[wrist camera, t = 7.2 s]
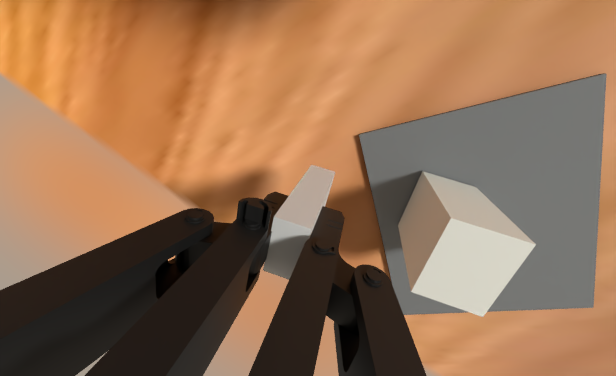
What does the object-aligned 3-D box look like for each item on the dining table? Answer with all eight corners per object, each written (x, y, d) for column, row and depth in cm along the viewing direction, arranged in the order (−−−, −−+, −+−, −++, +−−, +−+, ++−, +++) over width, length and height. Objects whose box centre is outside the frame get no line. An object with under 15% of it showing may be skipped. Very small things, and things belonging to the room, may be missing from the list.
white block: (397, 224, 22) (410, 291, 15) (421, 170, 20) (451, 217, 13) (445, 239, 22) (482, 317, 14) (474, 186, 20) (536, 244, 12)
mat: (359, 133, 21) (358, 134, 20) (601, 73, 16) (606, 73, 16) (398, 311, 26) (399, 314, 25) (589, 303, 21) (593, 307, 21)
